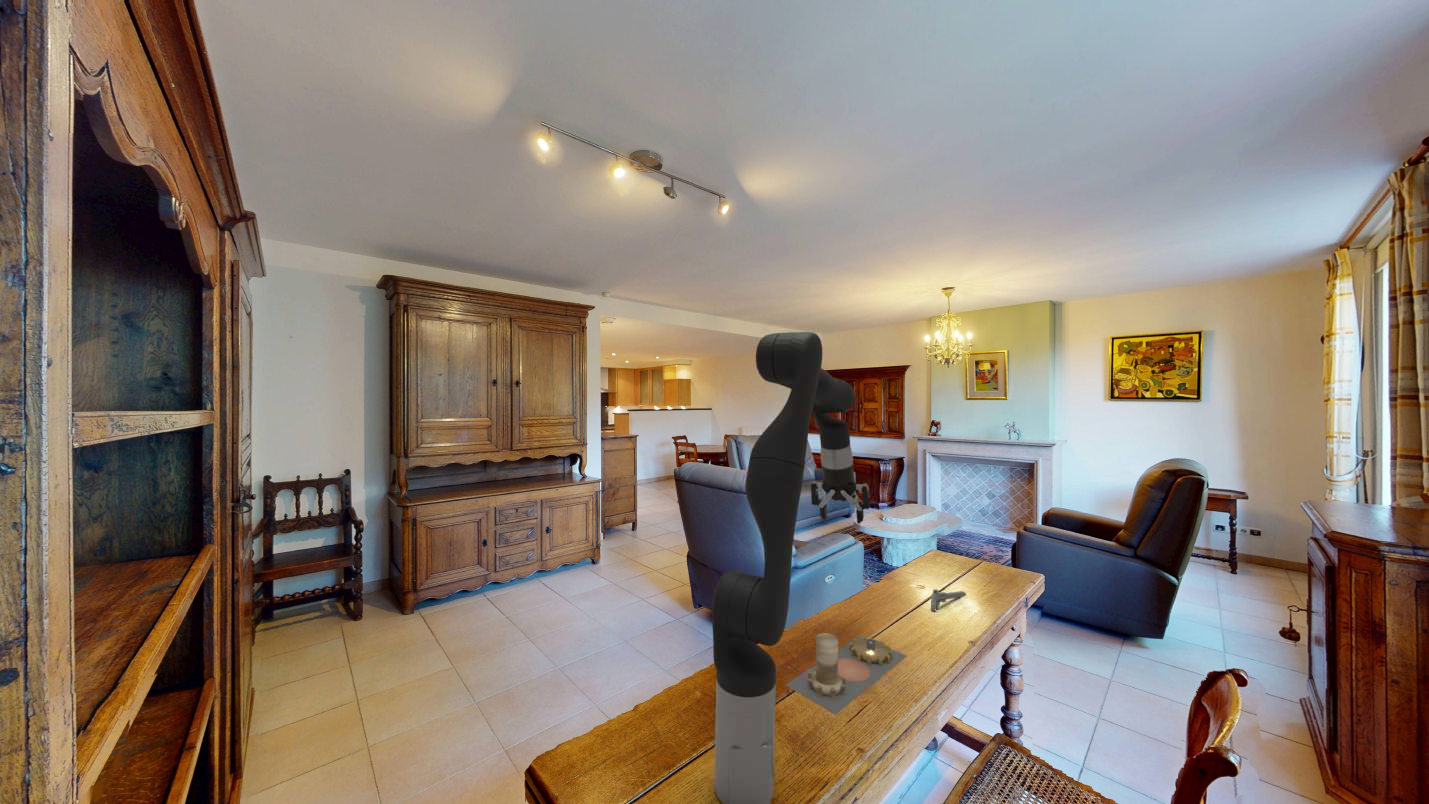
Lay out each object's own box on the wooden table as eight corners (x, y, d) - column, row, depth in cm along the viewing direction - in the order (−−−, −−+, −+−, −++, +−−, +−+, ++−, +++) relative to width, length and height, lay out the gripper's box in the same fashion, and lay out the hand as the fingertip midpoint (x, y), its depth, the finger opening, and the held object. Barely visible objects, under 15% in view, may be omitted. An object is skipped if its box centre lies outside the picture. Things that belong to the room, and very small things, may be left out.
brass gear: (900, 664, 106) (900, 651, 106) (860, 667, 104) (860, 653, 104) (879, 642, 115) (880, 630, 115) (843, 644, 114) (843, 632, 114)
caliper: (934, 613, 135) (934, 591, 135) (930, 612, 136) (931, 590, 136) (966, 595, 148) (967, 575, 148) (963, 594, 149) (963, 574, 148)
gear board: (835, 722, 89) (835, 714, 89) (784, 692, 98) (785, 684, 98) (907, 662, 109) (907, 655, 109) (860, 641, 118) (860, 635, 118)
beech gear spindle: (852, 697, 94) (853, 647, 94) (814, 700, 93) (815, 649, 93) (836, 674, 102) (837, 628, 102) (802, 676, 101) (802, 630, 100)
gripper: (804, 466, 116) (811, 525, 120) (864, 469, 110) (869, 531, 114) (812, 455, 123) (818, 511, 127) (869, 456, 116) (873, 515, 120)
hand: (842, 520), depth 120 cm, fingers open, 8 cm apart
